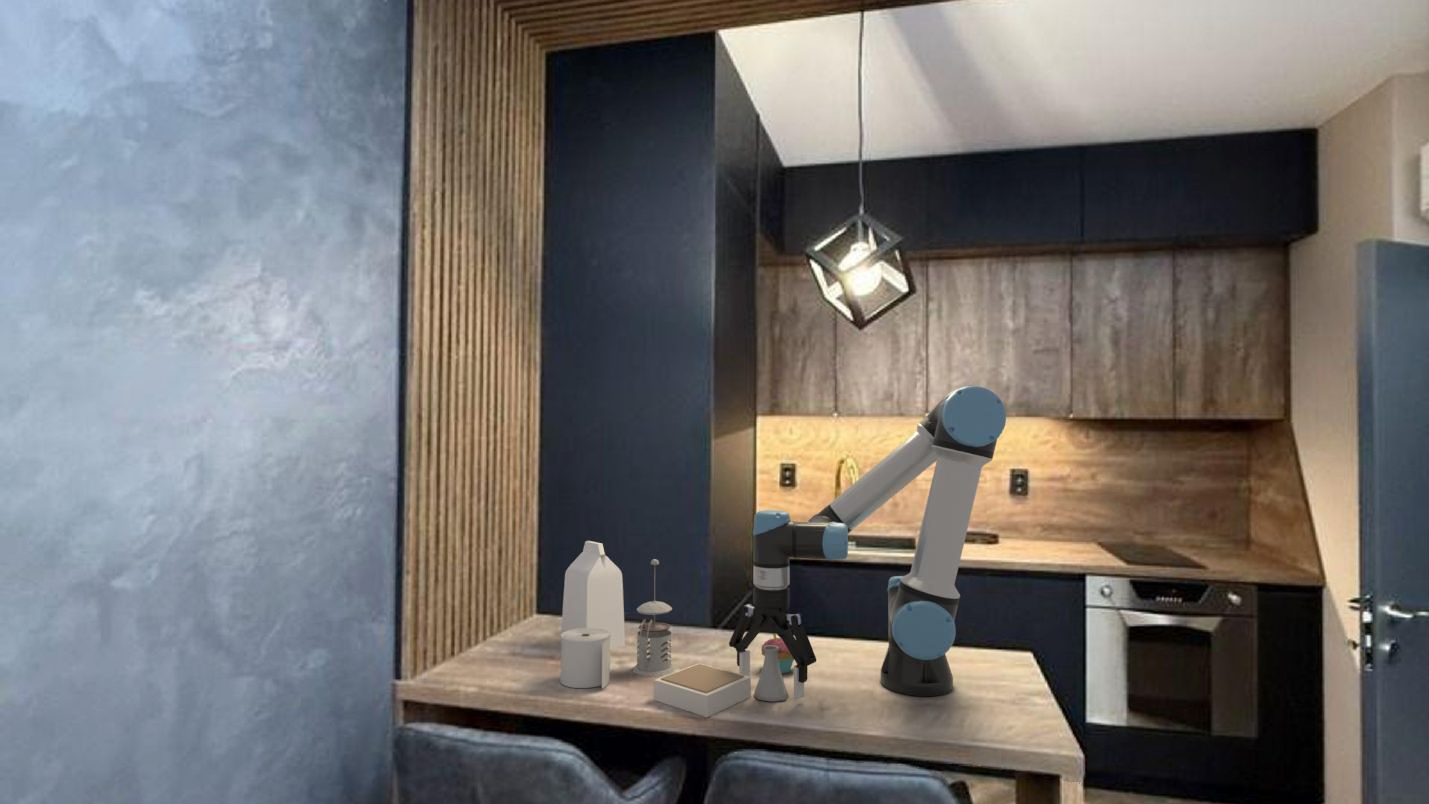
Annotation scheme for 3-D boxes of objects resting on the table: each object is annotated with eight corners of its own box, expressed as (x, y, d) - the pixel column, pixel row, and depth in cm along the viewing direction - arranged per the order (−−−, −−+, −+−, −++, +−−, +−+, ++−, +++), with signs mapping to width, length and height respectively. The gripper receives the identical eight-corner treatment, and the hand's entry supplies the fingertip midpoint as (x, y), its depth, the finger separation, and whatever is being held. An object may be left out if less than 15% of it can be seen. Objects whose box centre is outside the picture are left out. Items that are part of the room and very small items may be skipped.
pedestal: (750, 696, 151) (750, 675, 151) (706, 717, 140) (707, 694, 140) (698, 681, 160) (699, 661, 160) (654, 699, 149) (654, 678, 149)
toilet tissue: (576, 670, 168) (577, 625, 168) (623, 676, 163) (624, 630, 164) (550, 685, 158) (551, 638, 158) (600, 692, 153) (600, 643, 154)
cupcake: (768, 677, 163) (768, 622, 163) (756, 665, 171) (756, 613, 172) (804, 674, 165) (804, 620, 166) (790, 662, 173) (790, 611, 174)
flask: (790, 703, 148) (790, 652, 148) (754, 702, 148) (754, 652, 148) (787, 690, 155) (787, 642, 155) (752, 690, 155) (753, 642, 156)
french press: (681, 664, 172) (681, 556, 173) (664, 680, 161) (665, 565, 162) (641, 660, 174) (642, 554, 175) (622, 676, 163) (623, 563, 164)
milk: (560, 644, 187) (561, 542, 188) (598, 636, 195) (599, 537, 196) (586, 655, 178) (587, 547, 179) (625, 646, 186) (626, 542, 187)
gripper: (713, 580, 157) (712, 681, 157) (813, 598, 142) (813, 710, 141) (734, 575, 163) (734, 672, 162) (833, 591, 147) (833, 699, 147)
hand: (771, 690), depth 152 cm, fingers open, 13 cm apart
